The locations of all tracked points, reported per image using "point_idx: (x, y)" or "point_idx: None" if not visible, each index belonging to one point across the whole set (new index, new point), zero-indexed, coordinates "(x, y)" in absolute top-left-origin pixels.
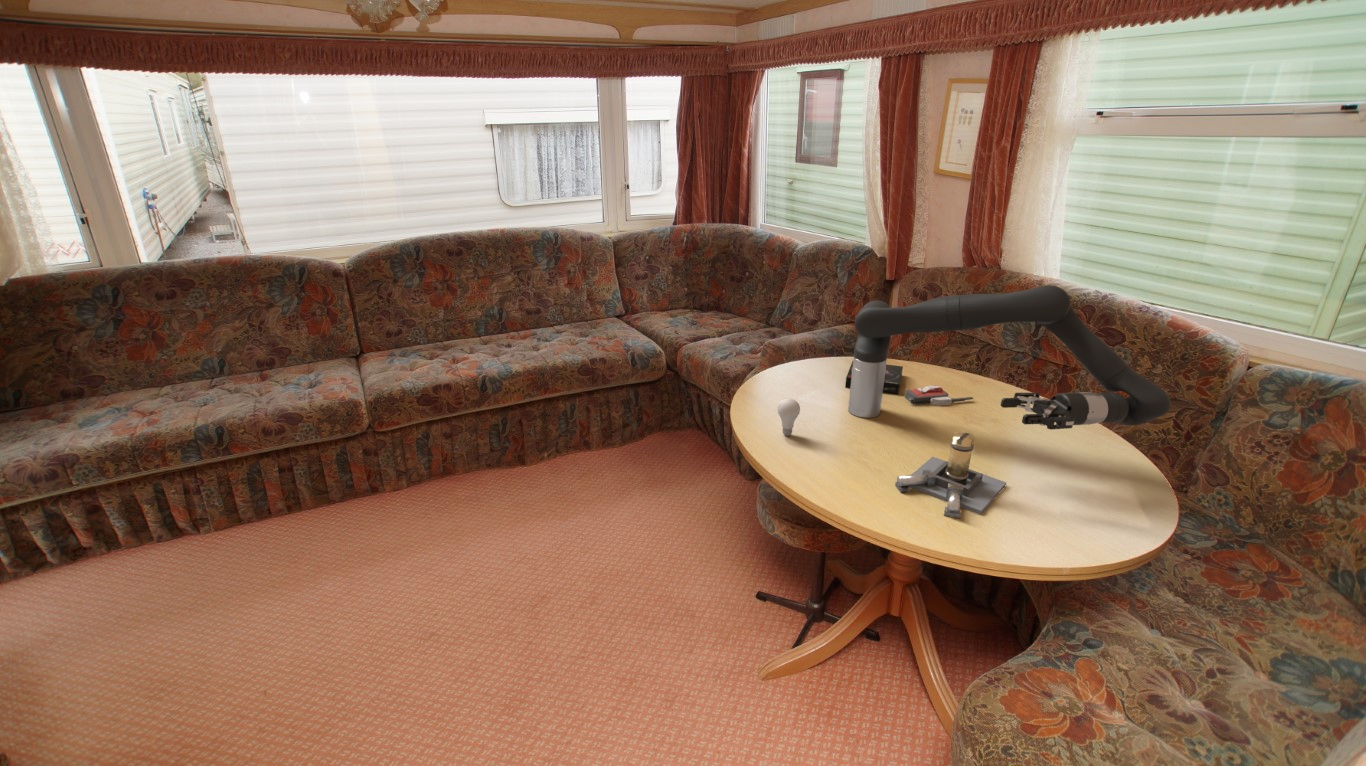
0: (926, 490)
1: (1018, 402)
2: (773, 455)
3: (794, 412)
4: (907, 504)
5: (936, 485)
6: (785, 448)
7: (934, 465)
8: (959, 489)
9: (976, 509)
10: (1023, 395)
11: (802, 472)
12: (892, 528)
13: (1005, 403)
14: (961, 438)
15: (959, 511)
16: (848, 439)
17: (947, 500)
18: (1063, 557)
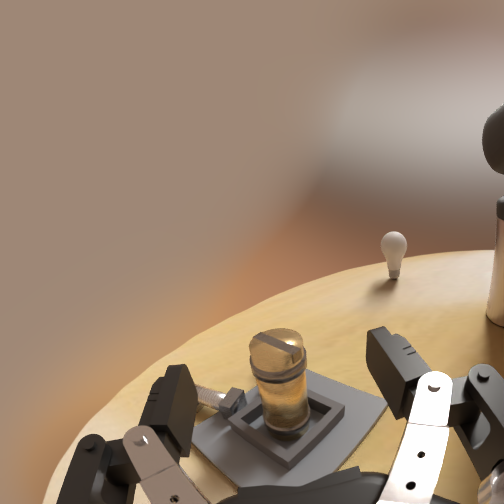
0: None
1: (410, 406)
2: (343, 278)
3: (384, 246)
4: (235, 364)
5: None
6: (362, 281)
7: (351, 402)
8: (221, 401)
9: None
10: (485, 407)
11: (312, 294)
12: (191, 346)
13: (372, 355)
14: (265, 338)
15: None
16: (413, 315)
17: None
18: (65, 473)
